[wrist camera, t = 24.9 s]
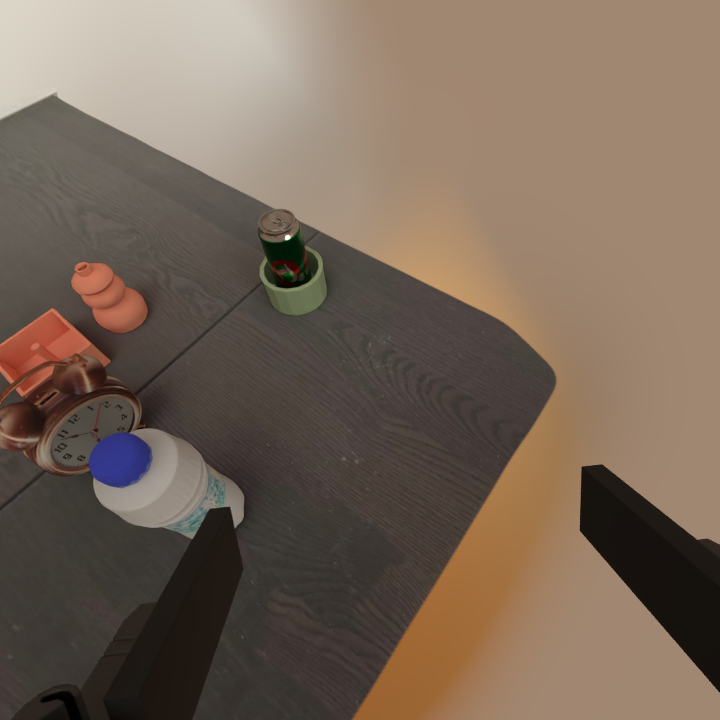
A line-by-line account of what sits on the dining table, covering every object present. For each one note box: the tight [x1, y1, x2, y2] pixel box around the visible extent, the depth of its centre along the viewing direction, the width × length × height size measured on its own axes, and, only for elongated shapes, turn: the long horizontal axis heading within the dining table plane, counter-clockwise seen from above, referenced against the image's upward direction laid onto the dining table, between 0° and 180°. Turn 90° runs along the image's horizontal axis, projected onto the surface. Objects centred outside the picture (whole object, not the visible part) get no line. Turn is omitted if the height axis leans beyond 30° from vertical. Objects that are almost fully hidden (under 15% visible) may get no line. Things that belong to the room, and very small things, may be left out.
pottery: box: [0, 262, 148, 399], centre depth 50 cm, size 18×10×10 cm, turn 141°
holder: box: [260, 246, 327, 315], centre depth 55 cm, size 8×8×5 cm
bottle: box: [89, 429, 244, 539], centre depth 34 cm, size 7×7×20 cm
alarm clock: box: [0, 353, 146, 476], centre depth 41 cm, size 11×5×15 cm, turn 146°
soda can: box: [258, 209, 312, 289], centre depth 52 cm, size 5×5×12 cm
